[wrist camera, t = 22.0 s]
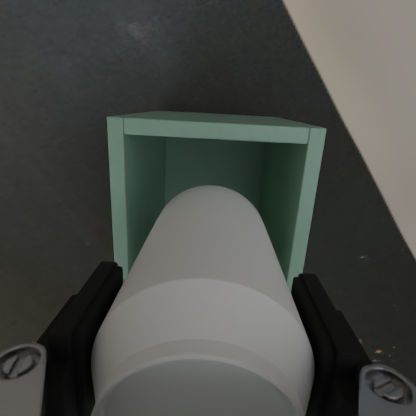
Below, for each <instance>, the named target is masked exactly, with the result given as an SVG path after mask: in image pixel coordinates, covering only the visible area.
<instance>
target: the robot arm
mask: <svg viewBox="0 0 416 416" xmlns="http://www.w3.org/2000/svg"><path fill="white" fill-rule="evenodd" d="M122 285H123V268H122V266H118V263H117V262H101V263H100V264H99V266H98V267H97V268H96V270H95V271H94V272H93V274H92V275H91V276H90V278H89V279H88V281H87V282H86V283H85V285H84V286H83V287H82V289H81V290H80V291H79V293H78V294H77V295H72V296H71V297H70V299H69V300H68V301H67V303H66V304H65V305H64V307H63V308H62V309H61V310H60V312H59V313H58V314H57V316H56V317H55V318H54V320H53V321H52V322H51V324H50V325H49V326H48V328H47V329H46V330H45V332H44V333H43V334H42V336H41V337H40V338H39V340H38V341H37V342H36V343H33V342H28V343H21V344H17V345H14V346H11V347H9V348H7V349H5V350H3V351H2V352H0V416H91V414H92V411H93V408H94V406H95V395H94V388H93V381H92V373H91V354H92V348H93V344H94V341H95V338H96V335H97V333H98V331H99V329H100V327H101V325H102V323H103V321H104V319H105V317H106V315H107V314H108V312H109V310H110V308H111V306H112V304H113V302H114V300H115V298H116V296H117V294H118V293H119V291H120V289H121V287H122ZM291 295H292V298H293V300H294V303H295V305H296V308H297V311H298V313H299V316H300V318H301V321H302V324H303V326H304V329H305V331H306V334H307V337H308V339H309V342H310V345H311V348H312V352H313V356H314V364H315V375H314V382H313V387H312V391H311V395H310V399H309V403H308V407H307V410H306V414H305V416H416V387H415V386H414V385H413V383H412V382H411V381H410V380H409V379H408V378H406V377H405V376H404V375H403V374H401V373H400V372H398V371H396V370H395V369H392V368H390V367H388V366H384V365H380V364H372V363H371V361H370V359H369V358H368V356H367V354H366V352H365V351H364V349H363V347H362V346H361V344H360V342H359V341H358V339H357V337H356V336H355V334H354V332H353V331H352V329H351V327H350V325H349V324H348V322H347V320H346V319H345V317H344V315H343V314H342V313H341V311H338V310H336V309H335V307H334V306H333V304H332V302H331V300H330V299H329V297H328V295H327V293H326V292H325V290H324V288H323V286H322V285H321V283H320V281H319V279H318V278H317V276H316V275H315V274H304V273H300V274H299V275H298V277H294V278H293V283H292V289H291Z"/></svg>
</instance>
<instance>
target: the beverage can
mask: <svg viewBox="0 0 416 416" xmlns="http://www.w3.org/2000/svg"><path fill="white" fill-rule="evenodd" d="M91 373H92V381H93V388H94V395H95V406H94V408H93V411H92V415H91V416H305V414H306V410H307V407H308V403H309V399H310V395H311V391H312V387H313V382H314V375H315V364H314V356H313V352H312V348H311V345H310V342H309V339H308V337H307V334H306V331H305V329H304V326H303V324H302V321H301V318H300V316H299V313H298V311H297V308H296V305H295V303H294V300H293V298H292V295H291V293H290V290H289V287H288V285H287V282H286V280H285V277H284V274H283V272H282V269H281V267H280V264H279V261H278V259H277V256H276V254H275V251H274V249H273V246H272V243H271V241H270V238H269V236H268V233H267V231H266V228H265V226H264V223H263V221H262V219H261V217H260V215H259V213H258V211H257V210H256V208H255V207H254V206H253V205H252V203H251V202H250V201H249V200H247V199H246V198H245V197H244V196H242V195H241V194H239V193H238V192H236V191H234V190H231V189H229V188H226V187H222V186H215V185H204V186H197V187H194V188H190V189H188V190H185V191H183V192H182V193H180V194H178V195H177V196H175V197H174V198H173V199H172V200H171V201H170V202H169V203H168V204H167V205H166V206H165V207H164V209H163V210H162V212H161V213H160V215H159V217H158V219H157V220H156V222H155V224H154V226H153V228H152V230H151V232H150V234H149V235H148V237H147V239H146V241H145V243H144V245H143V247H142V249H141V251H140V252H139V254H138V256H137V258H136V260H135V262H134V264H133V266H132V268H131V270H130V272H129V273H128V275H127V277H126V279H125V281H124V283H123V285H122V287H121V289H120V291H119V293H118V294H117V296H116V298H115V300H114V302H113V304H112V306H111V308H110V310H109V312H108V314H107V315H106V317H105V319H104V321H103V323H102V325H101V327H100V329H99V331H98V333H97V335H96V338H95V341H94V344H93V348H92V354H91Z"/></svg>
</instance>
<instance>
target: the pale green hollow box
mask: <svg viewBox="0 0 416 416" xmlns="http://www.w3.org/2000/svg"><path fill="white" fill-rule="evenodd" d="M107 130H108V150H109V169H110V188H111V207H112V226H113V245H114V262H117V263H118V266H122V268H123V283H124V281H125V279H126V277H127V275H128V273H129V272H130V270H131V268H132V266H133V264H134V262H135V260H136V258H137V256H138V254H139V252H140V251H141V249H142V247H143V245H144V243H145V241H146V239H147V237H148V235H149V234H150V232H151V230H152V228H153V226H154V224H155V222H156V220H157V219H158V217H159V215H160V213H161V212H162V210H163V209H164V207H165V206H166V205H167V204H168V203H169V202H170V201H171V200H172V199H173V198H174V197H175V196H177V195H178V194H180V193H182V192H183V191H185V190H188V189H190V188H194V187H197V186H204V185H215V186H222V187H226V188H229V189H231V190H234V191H236V192H238V193H239V194H241V195H242V196H244V197H245V198H246V199H247V200H249V201H250V202H251V203H252V205H253V206H254V207H255V208H256V210H257V211H258V213H259V215H260V217H261V219H262V221H263V223H264V226H265V228H266V231H267V233H268V236H269V238H270V241H271V243H272V246H273V249H274V251H275V254H276V256H277V259H278V261H279V264H280V267H281V269H282V272H283V274H284V277H285V280H286V282H287V285H288V287H289V290H290V293H291V289H292V283H293V278H294V277H298V275H299V274H300V273H302V272H303V266H304V261H305V255H306V249H307V243H308V237H309V231H310V225H311V219H312V213H313V207H314V201H315V195H316V189H317V183H318V177H319V171H320V165H321V159H322V153H323V147H324V142H325V136H326V128H322V127H317V126H313V125H309V124H304V123H300V122H295V121H291V120H287V119H282V118H278V117H268V116H250V115H231V114H212V113H193V112H175V111H152V112H143V113H135V114H126V115H118V116H109V117H107Z"/></svg>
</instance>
